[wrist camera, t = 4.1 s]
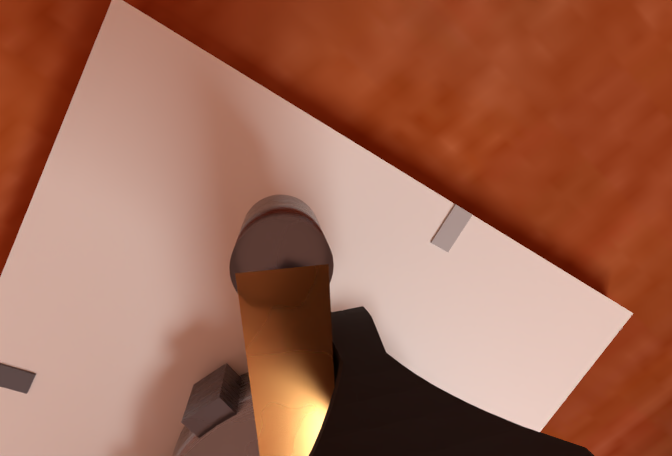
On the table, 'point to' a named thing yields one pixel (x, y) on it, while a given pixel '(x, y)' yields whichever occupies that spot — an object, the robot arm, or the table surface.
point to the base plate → (215, 253)
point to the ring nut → (271, 342)
